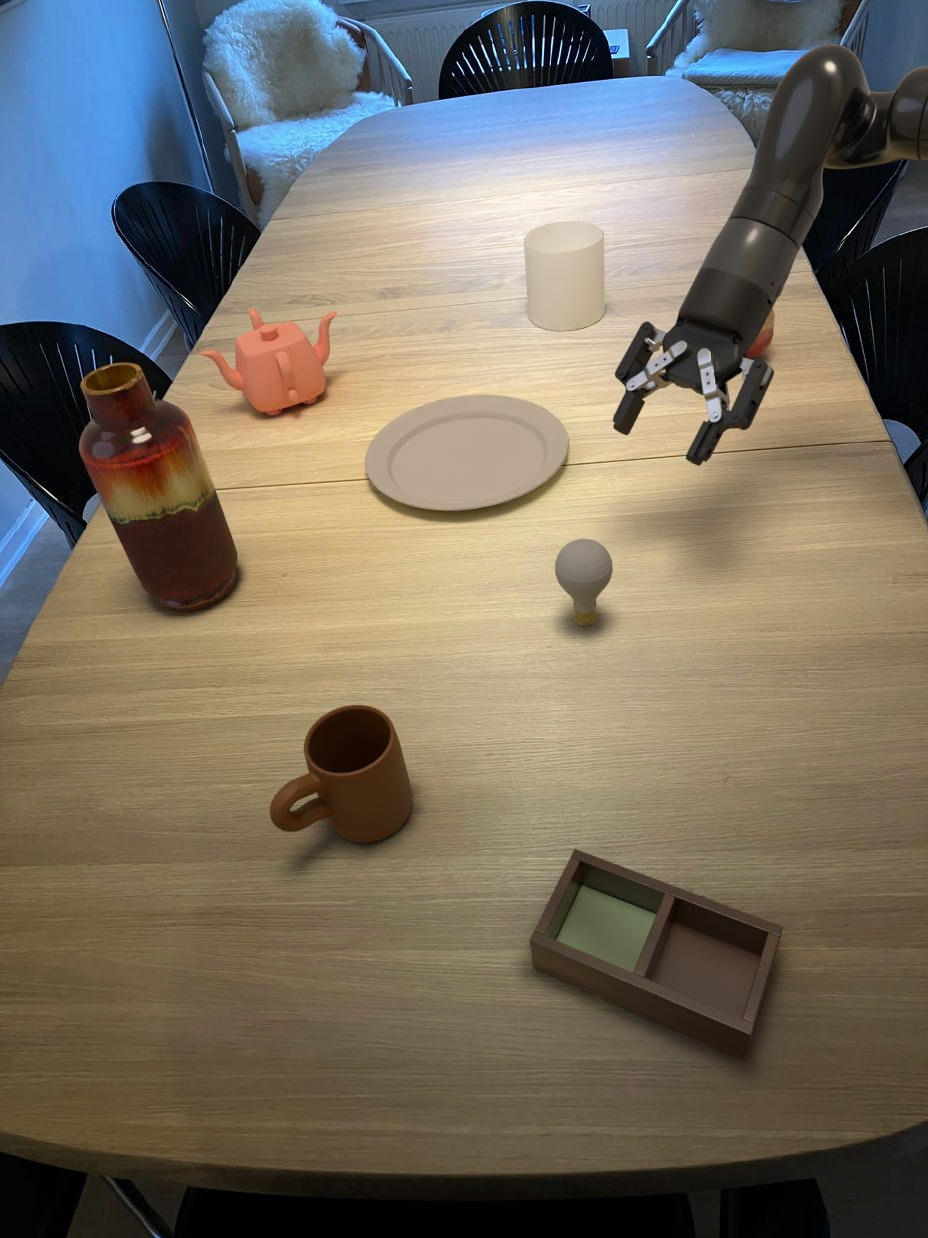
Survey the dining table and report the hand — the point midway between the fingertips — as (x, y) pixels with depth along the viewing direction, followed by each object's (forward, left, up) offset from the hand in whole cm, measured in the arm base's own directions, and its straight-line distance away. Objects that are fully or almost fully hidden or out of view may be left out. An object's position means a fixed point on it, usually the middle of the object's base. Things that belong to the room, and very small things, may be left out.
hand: (655, 447), depth 87 cm
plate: (+28, -12, -15) cm, 35 cm away
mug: (+12, +40, -15) cm, 45 cm away
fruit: (+3, -47, -15) cm, 50 cm away
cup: (+32, -53, -15) cm, 64 cm away
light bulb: (+3, +10, -15) cm, 19 cm away
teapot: (+62, -19, -15) cm, 67 cm away
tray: (-15, +41, -15) cm, 46 cm away
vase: (+46, +20, -15) cm, 53 cm away
